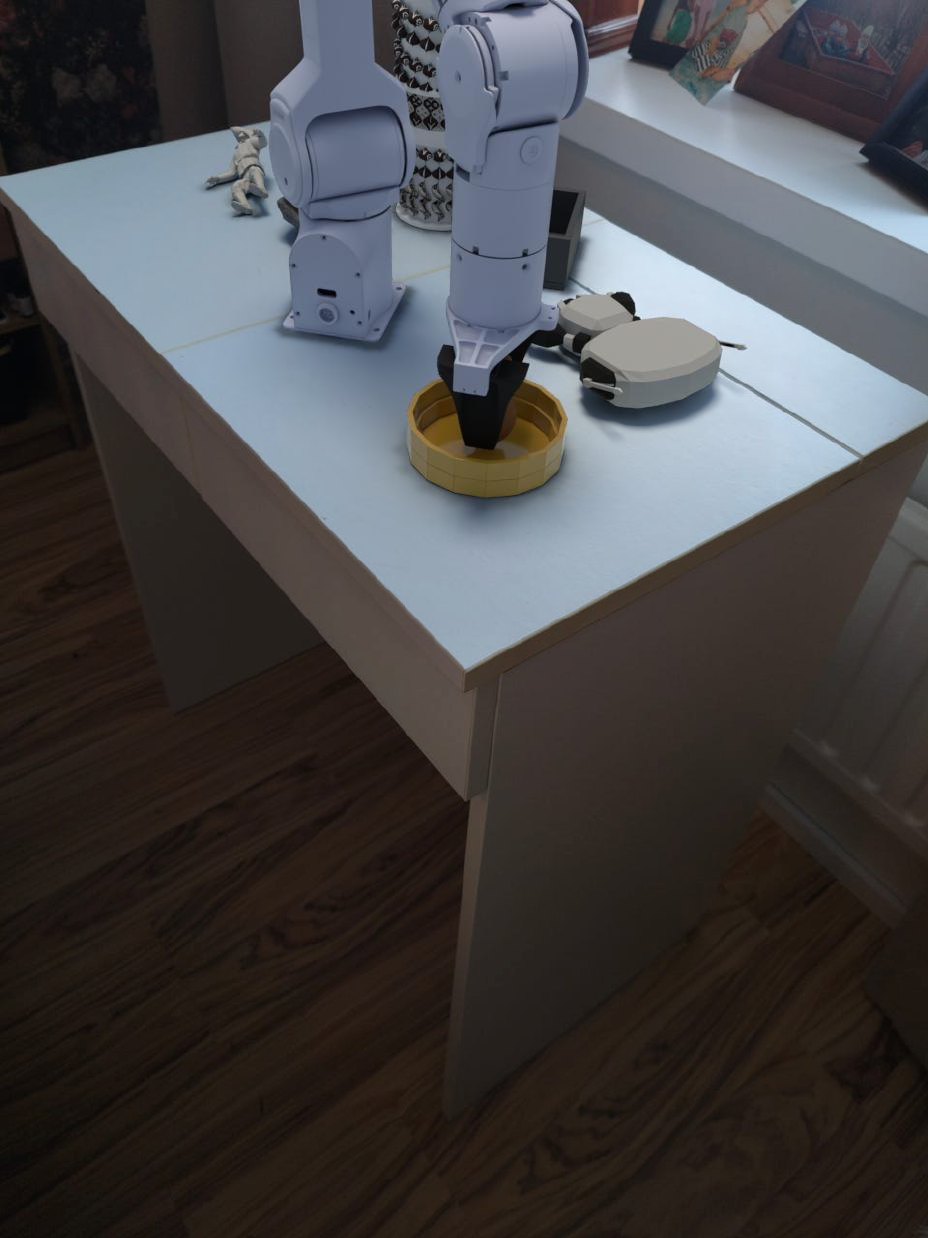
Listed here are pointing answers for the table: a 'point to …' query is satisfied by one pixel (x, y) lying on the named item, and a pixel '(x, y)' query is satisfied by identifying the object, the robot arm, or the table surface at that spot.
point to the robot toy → (634, 350)
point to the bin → (563, 235)
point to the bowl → (482, 471)
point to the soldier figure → (245, 168)
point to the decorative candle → (423, 116)
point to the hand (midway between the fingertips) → (486, 427)
